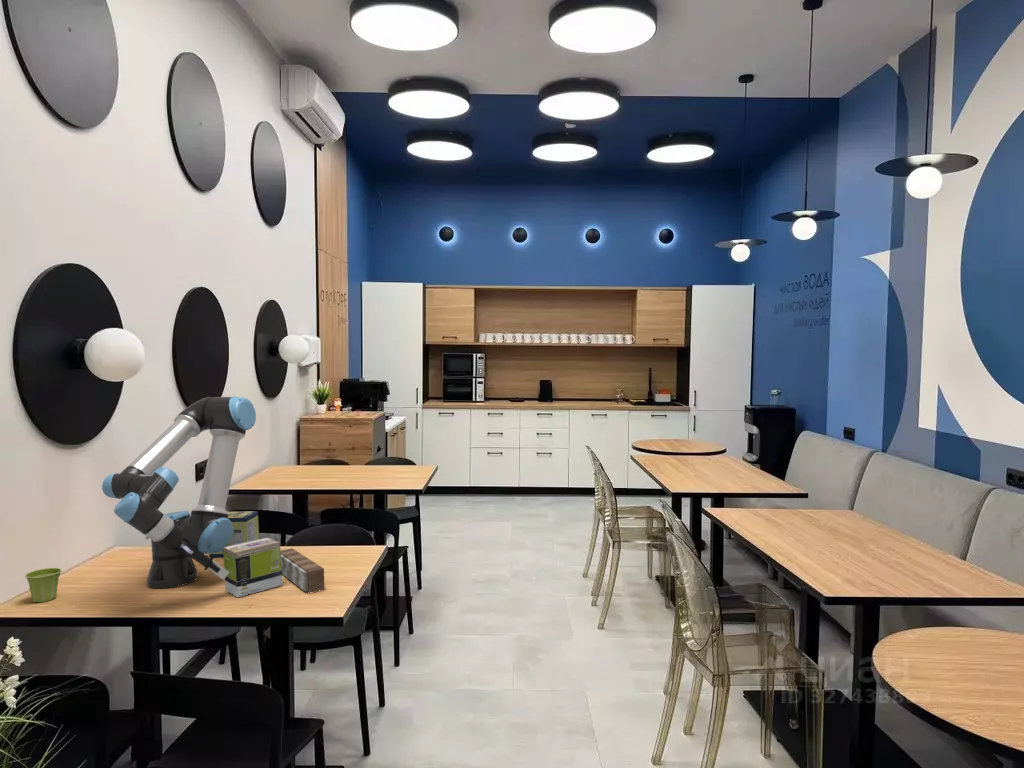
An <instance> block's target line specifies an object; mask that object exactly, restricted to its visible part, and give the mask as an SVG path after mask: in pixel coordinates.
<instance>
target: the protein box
mask: <svg viewBox="0 0 1024 768" xmlns="http://www.w3.org/2000/svg"><path fill="white" fill-rule="evenodd" d="M227 512H228V514H229V516H228V519H229V520H230V521H231V522H232V527H233V535H232V538H231V540H230V542H229V544H228V545H227V546H232V545H236V544H240V543H245V542H249V541H254V540H258V539H260V534H259V533H260V531H259V530H260V529H259V512H258V511H255V510H253V511H252V510H251V511H250V510H249V511H227ZM227 546H226V547H227ZM211 556H212V557H213V559H215V558H217V559H219V558H221V559H222V558H223V559H224V552H223V550H222V551H220V552H218V553H209V556H208V557H211Z"/></svg>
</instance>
